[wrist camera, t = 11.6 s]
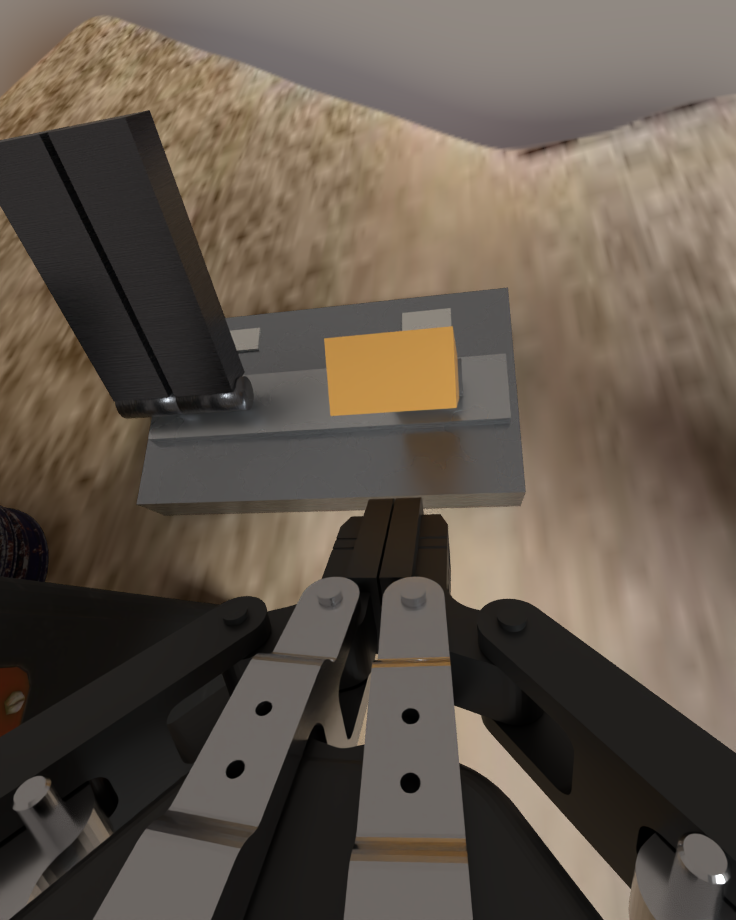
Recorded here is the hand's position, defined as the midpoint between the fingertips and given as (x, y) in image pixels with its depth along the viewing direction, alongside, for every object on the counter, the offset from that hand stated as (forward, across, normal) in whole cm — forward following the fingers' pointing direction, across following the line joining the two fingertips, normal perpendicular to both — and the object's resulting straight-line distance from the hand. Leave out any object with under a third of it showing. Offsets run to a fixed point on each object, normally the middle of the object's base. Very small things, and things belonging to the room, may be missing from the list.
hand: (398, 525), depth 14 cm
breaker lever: (+15, 0, 0) cm, 15 cm away
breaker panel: (+19, +6, +3) cm, 20 cm away
